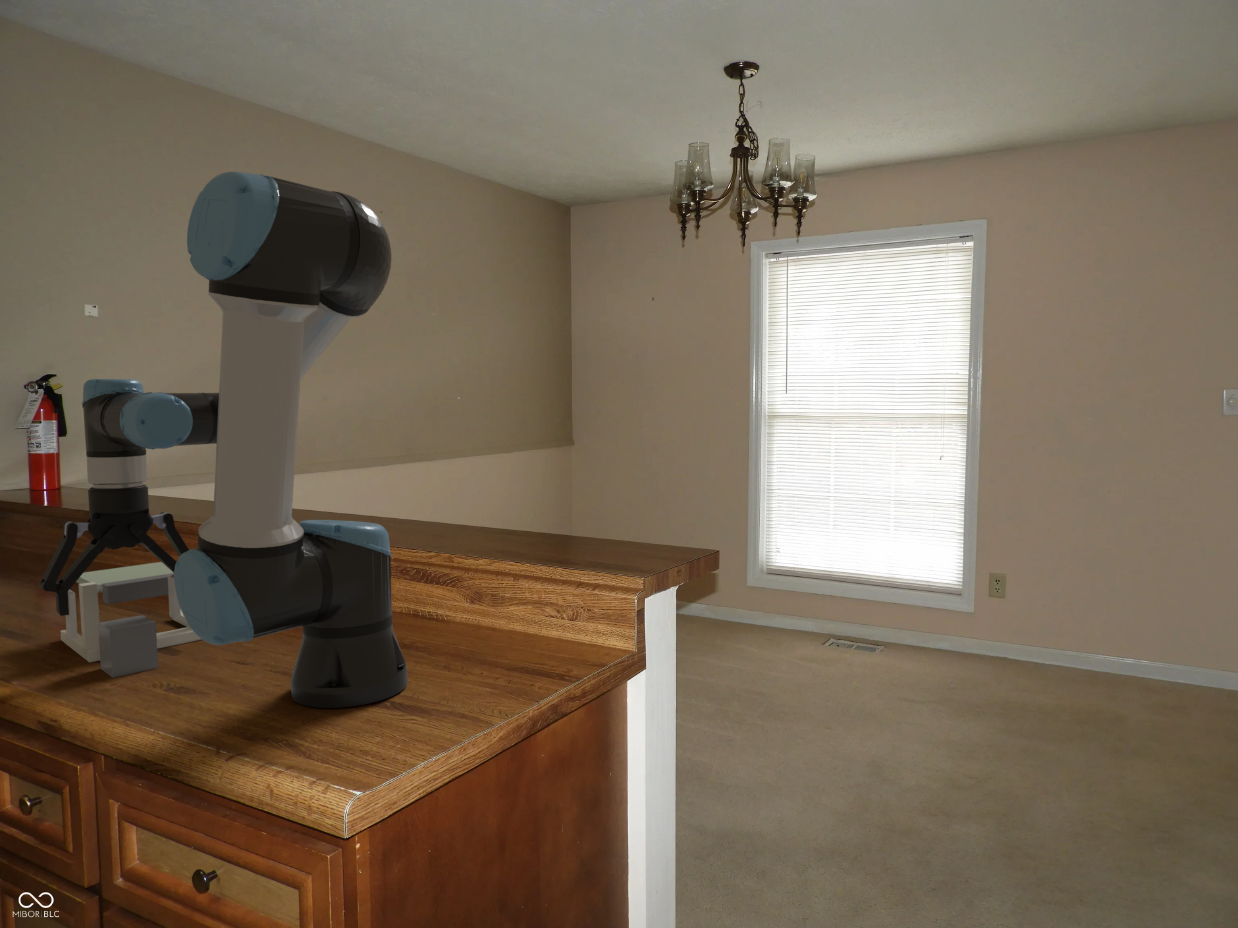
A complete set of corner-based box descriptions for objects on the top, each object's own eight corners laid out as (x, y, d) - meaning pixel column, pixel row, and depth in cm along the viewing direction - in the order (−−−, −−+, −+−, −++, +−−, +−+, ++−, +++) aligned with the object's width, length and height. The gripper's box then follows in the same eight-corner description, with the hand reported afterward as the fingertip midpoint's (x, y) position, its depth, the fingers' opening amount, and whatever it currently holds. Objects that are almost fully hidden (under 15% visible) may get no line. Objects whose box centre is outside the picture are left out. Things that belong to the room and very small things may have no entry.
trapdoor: (201, 588, 136) (200, 572, 136) (105, 604, 126) (103, 586, 126) (165, 575, 149) (164, 559, 149) (74, 588, 139) (73, 572, 139)
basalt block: (158, 667, 123) (155, 621, 122) (112, 678, 119) (109, 630, 118) (145, 659, 127) (142, 614, 127) (100, 668, 123) (97, 622, 122)
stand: (218, 635, 139) (214, 568, 138) (89, 662, 126) (84, 587, 125) (182, 617, 151) (178, 555, 150) (61, 640, 138) (56, 571, 137)
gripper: (199, 476, 132) (204, 606, 134) (8, 489, 114) (18, 639, 116) (217, 480, 127) (222, 615, 129) (20, 494, 109) (30, 651, 111)
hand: (125, 626), depth 123 cm, fingers open, 13 cm apart
